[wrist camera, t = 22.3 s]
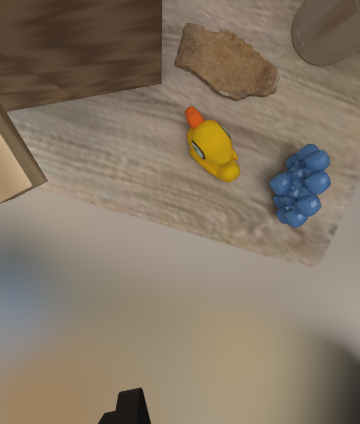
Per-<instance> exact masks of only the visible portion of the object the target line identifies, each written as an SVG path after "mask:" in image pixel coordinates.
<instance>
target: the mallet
mask: <svg viewBox="0 0 360 424" xmlns="http://www.w3.org/2000/svg"><path fill="white" fill-rule="evenodd" d="M47 181H48V180H47V179H46V177H45V175H44V174H43V172H42V170H41V169H40V167H39V165H38V164H37V162H36V161H35V159H34V157H33V156H32V154H31V152H30V151H29V149H28V147H27V146H26V144H25V142H24V141H23V139H22V137H21V136H20V134H19V133H18V131H17V129H16V128H15V126H14V124H13V123H12V121H11V119H10V118H9V116H8V114H7V113H6V111H5V110H4V108H3V106H2V105H1V103H0V203H3V202H6V201H8V200H11V199H14V198H16V197H18V196H20V195H22V194H24V193H25V192H27V191H30V190H32V189H34V188H35V187H37V186H39V185H41V184H43V183H45V182H47Z"/></svg>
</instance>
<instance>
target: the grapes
mask: <svg viewBox="0 0 360 424" xmlns="http://www.w3.org/2000/svg"><path fill="white" fill-rule="evenodd" d="M285 163H286V166H287V169H288V170H287V171H286V172H284V173H282V174H278V175H277V176H275V177H274V178H273V179H272V180H271V181H270V182H269V183H270V186H271V189H272V191H273V192H274V193H275V194H277V195H275V196H274V198H273V200H274V203H275V205H276V207H277V208H279V209H278V210H277V211H276V215H277V217H278V219H279V221H280V222H281V223H283V224H288V225H290V226H291V227H295V228H297V227H299V226H301V225H302V224H303V223H305V222H306V221H307V219H308V217H309V216H312V215H314V214H315V213H316V212H317V211H319V209H320V208H321V203H320V200H319V198H318V196H316V195H315V194H320V193H322V192H324V191H325V190H326V189H327V188H329V186H330V185H331V182H330V177H329V176H328V174H327V173H326V172H324V170H325V169H326V168H327V167H328V166H329V165H330V159H329V156H328V154H327V152H325V151H323V150H319V149H318V147H317V146H316V145H314V144H307V145H305V146H304V147H302V148H301V149H300V150H299V151H298V152H297V153H296V154H294V155H292V156H290V157H289V158H288V159H287V160H286V161H285Z"/></svg>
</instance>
